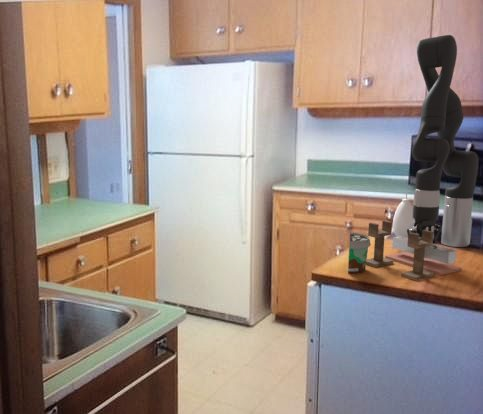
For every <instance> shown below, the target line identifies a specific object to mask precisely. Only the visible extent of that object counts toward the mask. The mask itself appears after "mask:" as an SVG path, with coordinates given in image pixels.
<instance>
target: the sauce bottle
mask: <svg viewBox="0 0 483 414" xmlns="http://www.w3.org/2000/svg"><path fill="white" fill-rule="evenodd" d="M414 223H415V219H414V218H413V205H412V202H411V199H410V198H408V192H407V191H406V192H405V198H402V199H401V202H400V203H399V204H398V206H397V208H396V209H395V213H394V216H393V219H392V229H393V230H392V231H393V233H394V237H399V236H401V237H405V238H408V234H407V229H408V228H409V229H411V228H413V227H414Z"/></svg>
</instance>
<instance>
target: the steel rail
mask: <svg viewBox="0 0 483 414" xmlns="http://www.w3.org/2000/svg"><path fill="white" fill-rule="evenodd" d="M391 248H392V249H395V250H398V251H401V252H408V253H412V254H414V248H411V247H408V238H405V237H401V236H399V237H396V236H393V237H392V246H391ZM424 257H425V258H429V259H432V260H436V261H439V262H443V263H446V264H454V263H456V259H457V250H455V249H450V248H448V247H443V246H439V245H435V244H433V245H432V246H428V247H425V253H424Z"/></svg>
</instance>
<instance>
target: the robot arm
mask: <svg viewBox="0 0 483 414" xmlns="http://www.w3.org/2000/svg"><path fill="white" fill-rule="evenodd" d="M457 55H458V44H457V41H456V38H455V37H454V36H453V35H452V34H447V35H440V36H434V37H433V36H432V37H428V38H423V39H421V40H419V41H418V42H417V46H416V56H417V61H418V64H419V68H420V71H421V74H422V77H423V81H424V83H425V86H426V90H427V93H426V95H425V97H424V100H423V102H422V106H421V112H420V113H421V116H420V123H419V124H420V125H419V129H418V132H417V134H416V138H415V140H414V142H413V145H412V147H411V156H412V158H413V159H414V160H415V161H417V162H429V163H431V162H432V163H434V162H435V164H434V165H433V166H432V167H429V168H422V169H419V170H418V171H417V172H416V175H415V176H416V177H415V189H414V190H415V191H414V196H413V203H412V204H413V205H412V207H413V218H414V219H415V223H414V227H413V228H411V229H409V228H408V229H407V234H408V233H410V232H411V233H415V234H419V241H421V240H422V230H427V231H431V232H433V241H432V245H435V244H437V243H438V239H439V237H441V239H440V243H441V244H442V245H444V246H448V247H453V248H458V247H459V248H464V247H465V248H466V247H469V245H470V244H471V234H472V225H473V218H472V211H473V202H474V193H475V188H476V183H477V176H478V171H479V155H478V154H477V153H476V152H475V151H469V150H458V149H456V146H455V137H456V135H457V133H458V131H459V130H460V128H461V126H462V125H463V121H464V110H463V106H462V101H461V98H460V97H459V95H458V94H457V93H456V92H455V91H454V90H453V88H451V84H452V80H453V76H454V72H455V67H456V61H457ZM437 68H441V69H440V73H438V71H437ZM432 134H437V138H434V137H428V136H430V135H432ZM442 172H444V174H445V175H446V176H449V177H455V178H461V179H460V182H459V183H458V184H455V185H451V186H448V187H446V188H445V191H444V202H443V216H442V225H439V224H437V222H436V221H438V220H439V217H440V216H439V214H440V213H439V212H440V202H441V201H440V200H441V191H440V190H441V178H442V174H443V173H442ZM440 233H441V236H440Z"/></svg>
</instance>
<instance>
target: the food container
mask: <svg viewBox="0 0 483 414" xmlns="http://www.w3.org/2000/svg"><path fill="white" fill-rule="evenodd" d="M348 244H349V245H348V247H349V248H348V263H347V265H348V266H347V267H348V268H347V270H348V271H347V274H348V275H354V274H355V275H358V274H363V273H364V272H366V266H367V265H366V260H367V257H368V249H369V247H370V246H371V240H370V236H368V235H366V234H364V233H358V232H349V243H348Z"/></svg>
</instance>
